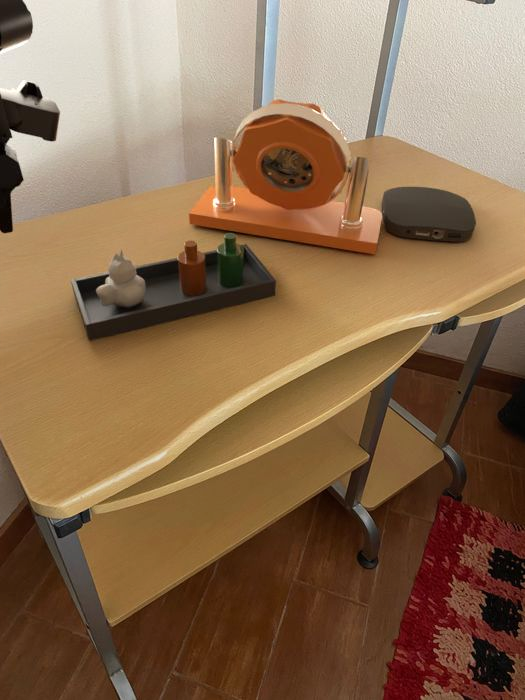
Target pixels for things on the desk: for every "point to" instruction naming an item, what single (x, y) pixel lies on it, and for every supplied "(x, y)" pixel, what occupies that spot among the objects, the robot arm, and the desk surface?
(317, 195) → the desk clock
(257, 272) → the tray
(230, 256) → the green bottle
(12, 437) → the desk surface
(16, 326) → the desk surface
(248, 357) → the desk surface
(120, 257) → the white rounded lumpy piece
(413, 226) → the media streaming box
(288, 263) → the desk surface
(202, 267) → the amber bottle
